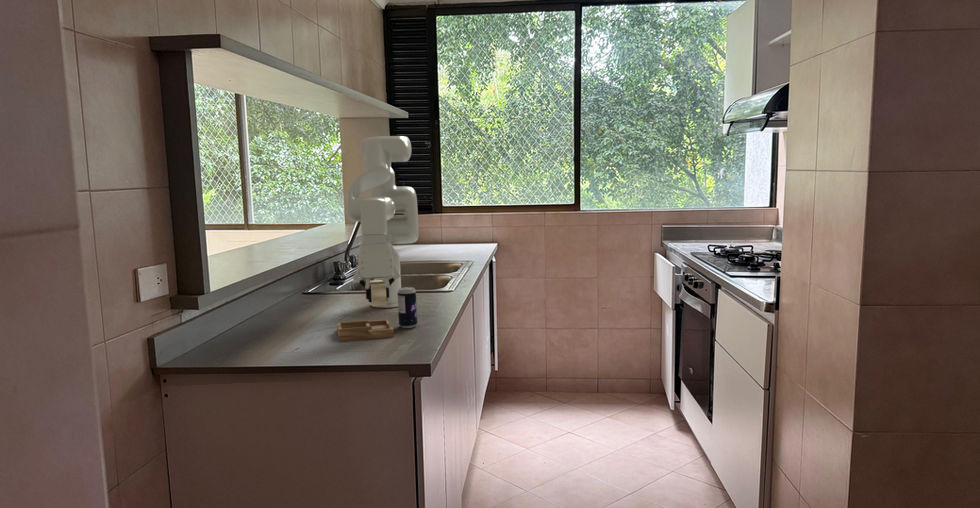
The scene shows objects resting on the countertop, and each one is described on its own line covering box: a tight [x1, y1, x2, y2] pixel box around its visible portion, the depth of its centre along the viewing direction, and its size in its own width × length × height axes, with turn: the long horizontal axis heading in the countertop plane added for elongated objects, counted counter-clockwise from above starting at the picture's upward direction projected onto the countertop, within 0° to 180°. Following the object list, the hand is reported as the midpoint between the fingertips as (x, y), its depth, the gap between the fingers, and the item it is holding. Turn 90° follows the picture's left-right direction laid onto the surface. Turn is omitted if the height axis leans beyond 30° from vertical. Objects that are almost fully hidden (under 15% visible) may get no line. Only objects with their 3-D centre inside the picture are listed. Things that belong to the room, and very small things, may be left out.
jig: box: [336, 318, 395, 343], centre depth 194 cm, size 14×16×3 cm
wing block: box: [370, 279, 387, 307], centre depth 193 cm, size 10×4×6 cm, turn 16°
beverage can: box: [397, 286, 418, 329], centre depth 201 cm, size 6×6×12 cm
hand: (377, 300), depth 194 cm, fingers closed on wing block, 4 cm apart
